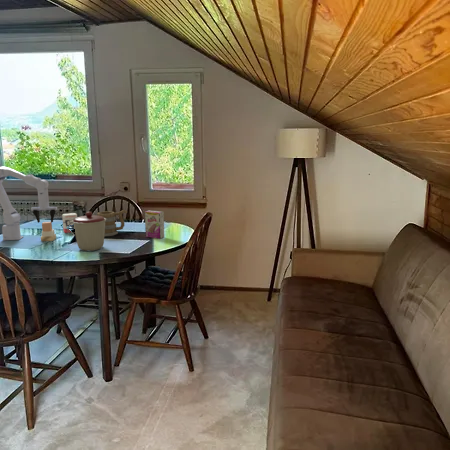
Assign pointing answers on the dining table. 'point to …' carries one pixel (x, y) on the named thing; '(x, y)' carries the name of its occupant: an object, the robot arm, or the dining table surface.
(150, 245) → the dining table surface
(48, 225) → the terracotta block
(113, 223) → the tankard
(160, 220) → the candy bar box
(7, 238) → the robot arm
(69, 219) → the ink box
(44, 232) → the off-white slab
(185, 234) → the dining table surface
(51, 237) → the beech slab
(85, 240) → the canister
